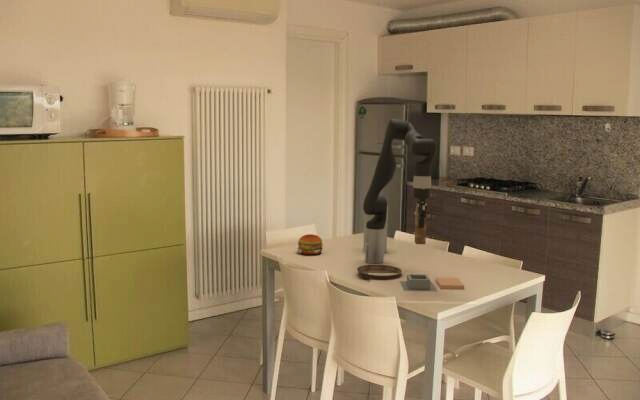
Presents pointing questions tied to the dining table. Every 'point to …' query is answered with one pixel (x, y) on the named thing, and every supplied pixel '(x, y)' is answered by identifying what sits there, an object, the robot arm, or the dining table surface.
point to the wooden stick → (420, 229)
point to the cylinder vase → (366, 219)
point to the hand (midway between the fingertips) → (420, 226)
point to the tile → (449, 283)
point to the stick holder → (417, 283)
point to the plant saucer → (378, 271)
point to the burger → (310, 244)
